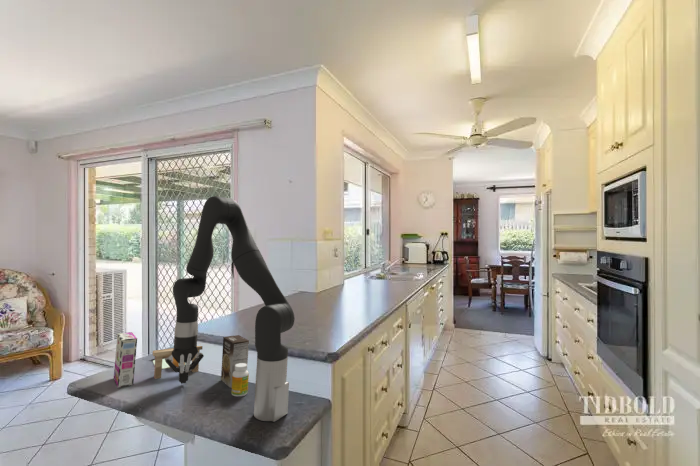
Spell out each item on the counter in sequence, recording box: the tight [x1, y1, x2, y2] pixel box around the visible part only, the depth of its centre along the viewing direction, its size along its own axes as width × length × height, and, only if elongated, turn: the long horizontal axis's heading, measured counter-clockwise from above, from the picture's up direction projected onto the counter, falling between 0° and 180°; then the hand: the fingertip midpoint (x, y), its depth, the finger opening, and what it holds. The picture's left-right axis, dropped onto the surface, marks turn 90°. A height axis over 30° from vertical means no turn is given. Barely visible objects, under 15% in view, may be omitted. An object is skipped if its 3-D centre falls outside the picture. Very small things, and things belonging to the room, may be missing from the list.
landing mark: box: [152, 359, 172, 370], centre depth 140 cm, size 12×12×1 cm
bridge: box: [152, 345, 203, 380], centre depth 129 cm, size 3×17×10 cm, turn 127°
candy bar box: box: [113, 332, 138, 389], centre depth 121 cm, size 11×5×16 cm, turn 42°
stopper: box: [154, 354, 172, 360], centre depth 147 cm, size 2×10×2 cm, turn 127°
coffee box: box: [220, 334, 250, 389], centre depth 124 cm, size 9×6×16 cm
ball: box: [172, 357, 185, 368], centre depth 137 cm, size 6×6×6 cm
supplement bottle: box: [230, 363, 250, 397], centre depth 115 cm, size 5×5×10 cm
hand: (183, 382), depth 119 cm, fingers closed
